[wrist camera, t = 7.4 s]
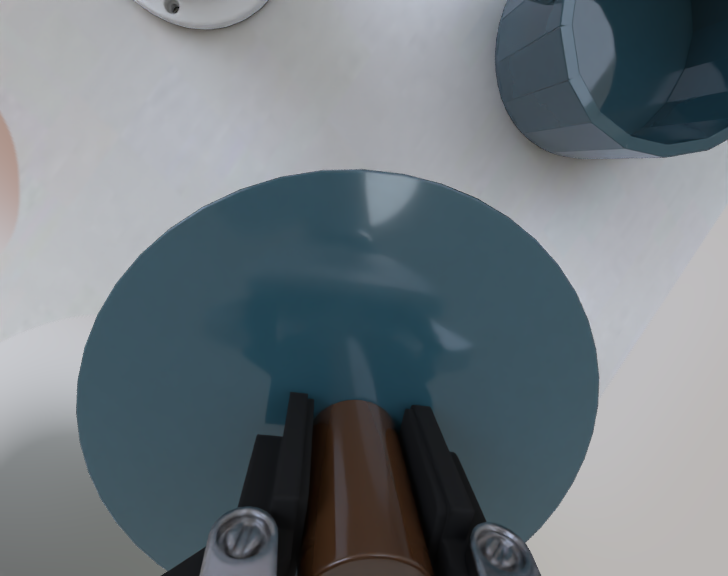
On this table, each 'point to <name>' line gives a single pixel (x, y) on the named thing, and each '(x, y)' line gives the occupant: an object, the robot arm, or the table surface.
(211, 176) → the table surface
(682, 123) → the pot
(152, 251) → the lid
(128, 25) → the table surface
